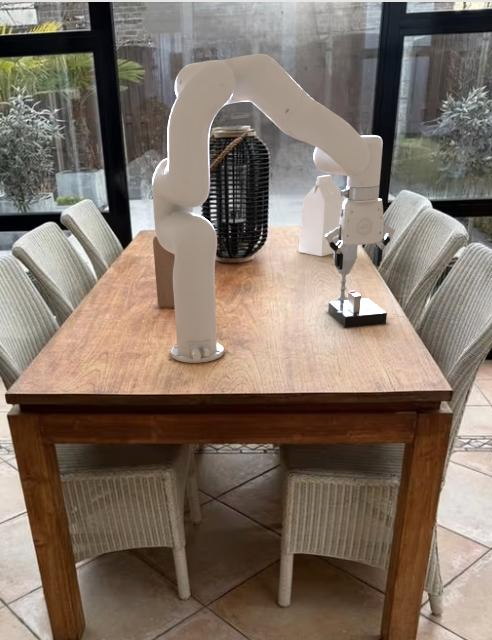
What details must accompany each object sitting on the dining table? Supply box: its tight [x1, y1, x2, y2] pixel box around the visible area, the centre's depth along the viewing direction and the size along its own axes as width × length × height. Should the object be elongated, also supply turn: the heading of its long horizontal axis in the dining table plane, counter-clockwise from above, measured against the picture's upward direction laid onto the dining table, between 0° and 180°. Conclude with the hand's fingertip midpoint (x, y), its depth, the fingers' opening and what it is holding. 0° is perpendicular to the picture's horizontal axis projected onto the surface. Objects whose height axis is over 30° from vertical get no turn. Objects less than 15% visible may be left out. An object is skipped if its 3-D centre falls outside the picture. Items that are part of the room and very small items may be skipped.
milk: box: [297, 174, 345, 257], centre depth 239 cm, size 12×12×26 cm
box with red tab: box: [347, 289, 362, 314], centre depth 169 cm, size 5×2×5 cm, turn 8°
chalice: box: [333, 238, 359, 301], centre depth 180 cm, size 7×7×18 cm
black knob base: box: [327, 297, 388, 329], centre depth 173 cm, size 14×12×3 cm
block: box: [152, 235, 175, 309], centre depth 190 cm, size 10×10×20 cm
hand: (357, 266), depth 165 cm, fingers open, 9 cm apart
